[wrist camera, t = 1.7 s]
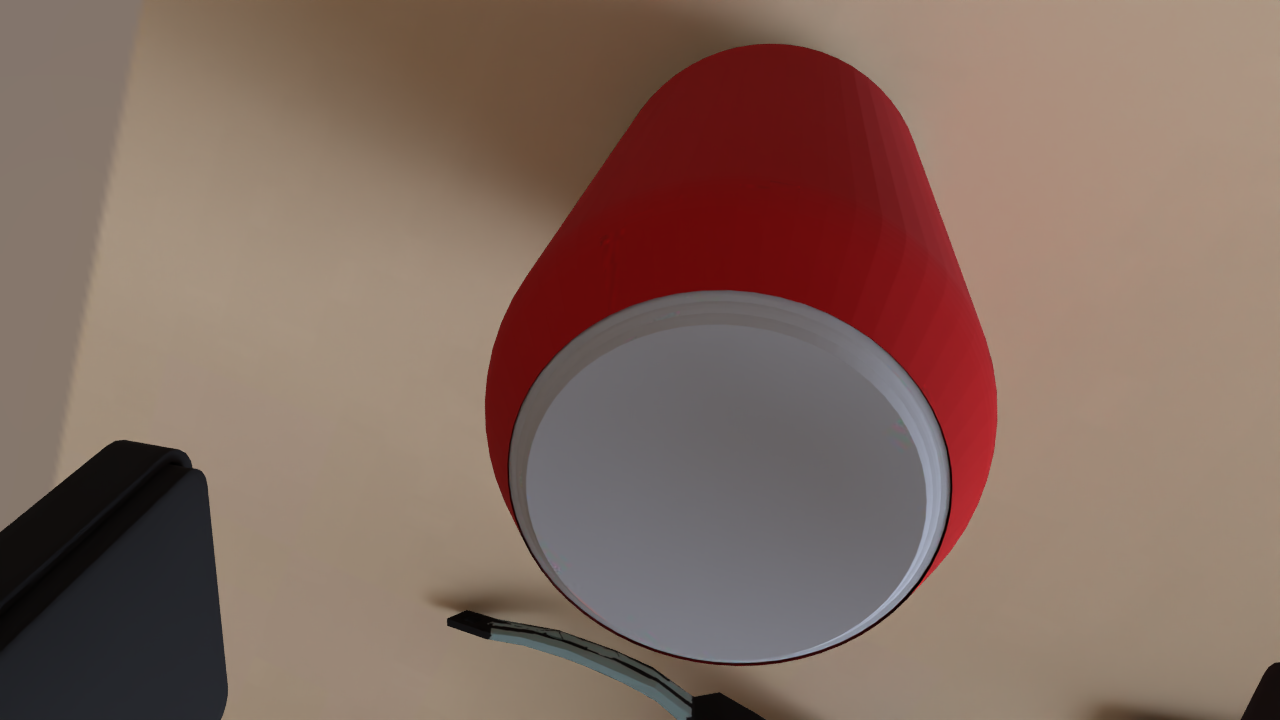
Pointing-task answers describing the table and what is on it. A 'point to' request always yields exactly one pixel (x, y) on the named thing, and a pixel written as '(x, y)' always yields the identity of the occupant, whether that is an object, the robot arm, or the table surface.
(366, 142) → the table surface
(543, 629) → the sunglasses
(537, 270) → the beverage can
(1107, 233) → the table surface
